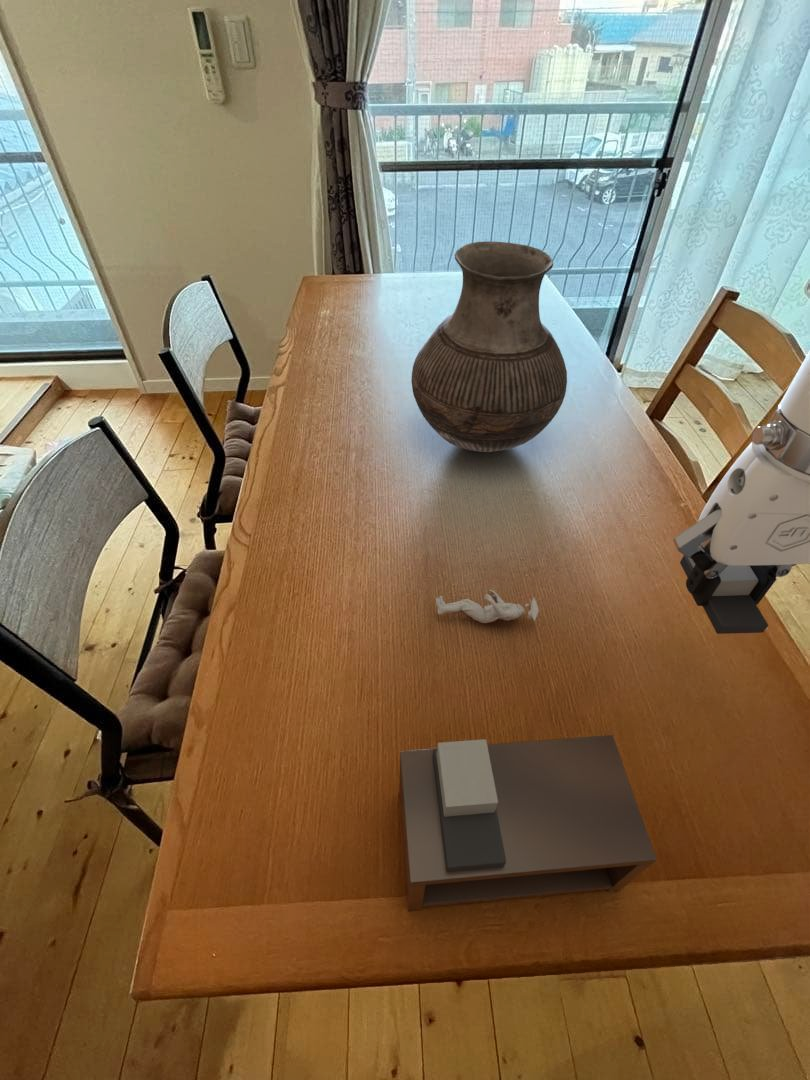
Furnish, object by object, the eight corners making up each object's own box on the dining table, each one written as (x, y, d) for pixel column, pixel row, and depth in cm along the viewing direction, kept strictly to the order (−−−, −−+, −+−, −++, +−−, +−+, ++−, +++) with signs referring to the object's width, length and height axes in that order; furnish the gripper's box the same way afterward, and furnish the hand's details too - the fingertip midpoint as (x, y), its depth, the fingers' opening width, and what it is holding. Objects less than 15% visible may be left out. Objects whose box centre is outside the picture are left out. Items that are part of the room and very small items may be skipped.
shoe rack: (619, 891, 50) (657, 860, 42) (407, 911, 48) (410, 883, 41) (585, 777, 56) (612, 734, 49) (399, 793, 55) (399, 750, 48)
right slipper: (762, 632, 52) (780, 610, 49) (716, 634, 52) (732, 612, 49) (720, 561, 58) (734, 538, 56) (679, 562, 58) (691, 539, 55)
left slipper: (504, 866, 42) (510, 853, 39) (446, 872, 42) (449, 859, 39) (482, 750, 48) (487, 732, 46) (432, 754, 48) (434, 736, 45)
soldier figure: (442, 593, 74) (533, 577, 71) (449, 628, 74) (540, 614, 71) (431, 599, 67) (532, 582, 64) (439, 639, 66) (540, 624, 64)
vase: (435, 390, 108) (445, 219, 86) (562, 416, 102) (606, 239, 81) (389, 463, 92) (387, 275, 70) (536, 499, 86) (583, 306, 64)
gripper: (734, 473, 39) (649, 627, 52) (968, 469, 39) (825, 622, 52) (691, 413, 44) (623, 567, 57) (898, 411, 44) (784, 563, 57)
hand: (721, 592), depth 54 cm, fingers closed on right slipper, 4 cm apart
